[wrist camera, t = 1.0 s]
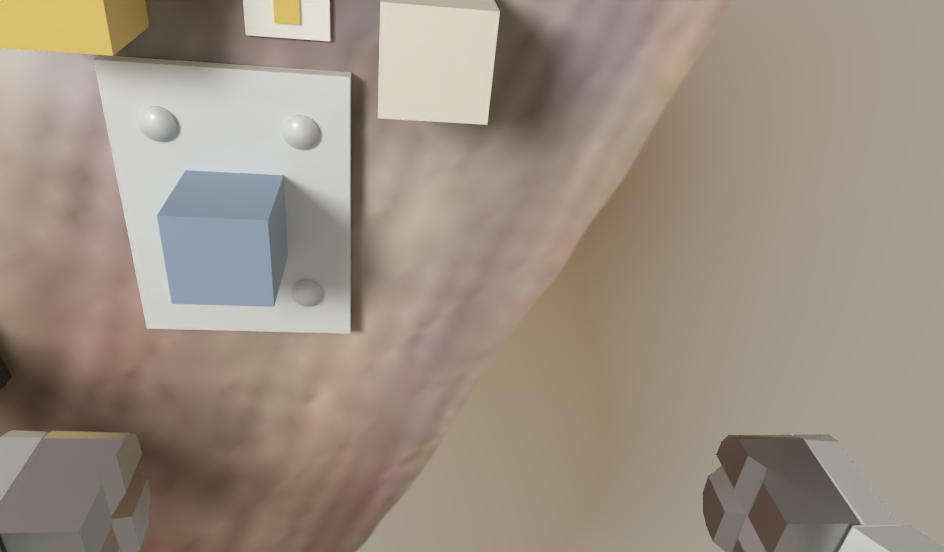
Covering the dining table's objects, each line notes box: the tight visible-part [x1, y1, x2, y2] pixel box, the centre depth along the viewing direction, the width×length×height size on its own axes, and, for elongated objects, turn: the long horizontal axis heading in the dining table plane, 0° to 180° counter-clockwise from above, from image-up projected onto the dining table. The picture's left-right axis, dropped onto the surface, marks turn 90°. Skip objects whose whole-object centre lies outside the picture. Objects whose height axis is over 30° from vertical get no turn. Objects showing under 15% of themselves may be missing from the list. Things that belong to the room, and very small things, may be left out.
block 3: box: [378, 0, 500, 125], centre depth 32 cm, size 5×5×5 cm
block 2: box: [157, 170, 288, 307], centre depth 36 cm, size 5×5×5 cm
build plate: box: [94, 55, 351, 334], centre depth 38 cm, size 16×12×1 cm
